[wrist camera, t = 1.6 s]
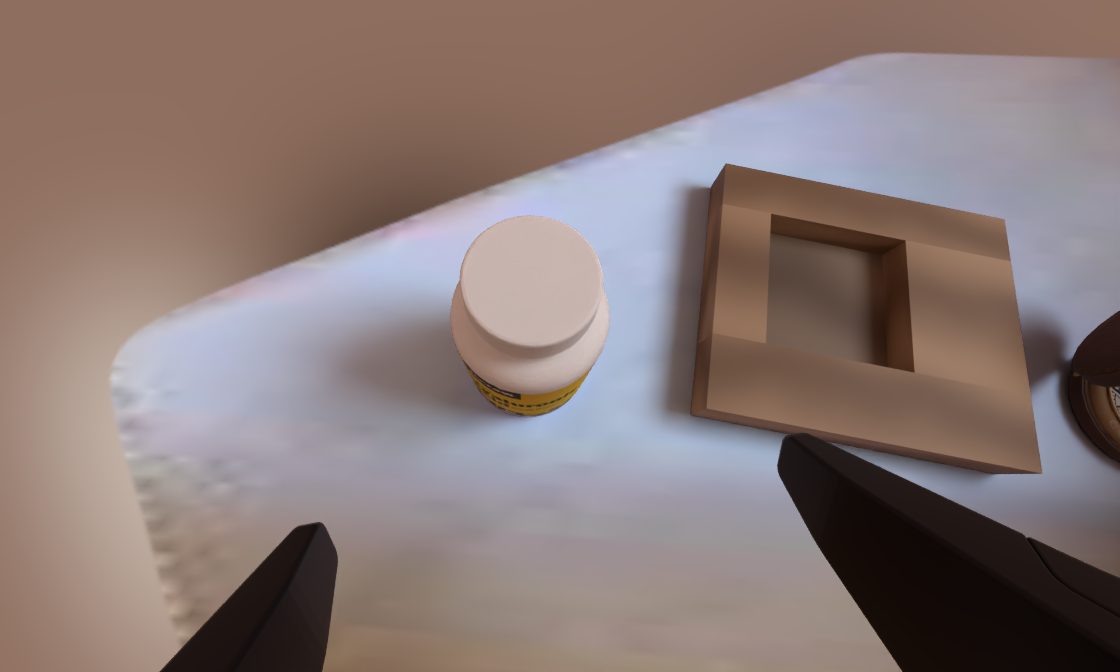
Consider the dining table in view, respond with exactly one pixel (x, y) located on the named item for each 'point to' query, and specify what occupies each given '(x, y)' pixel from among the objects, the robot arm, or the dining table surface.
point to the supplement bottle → (529, 314)
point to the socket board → (862, 323)
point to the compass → (1099, 385)
